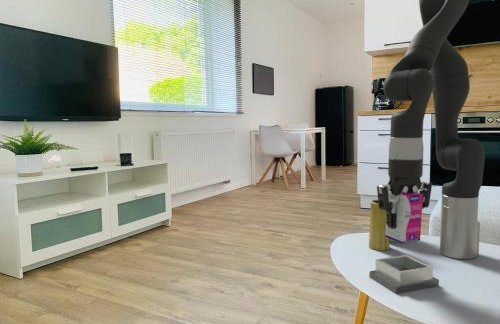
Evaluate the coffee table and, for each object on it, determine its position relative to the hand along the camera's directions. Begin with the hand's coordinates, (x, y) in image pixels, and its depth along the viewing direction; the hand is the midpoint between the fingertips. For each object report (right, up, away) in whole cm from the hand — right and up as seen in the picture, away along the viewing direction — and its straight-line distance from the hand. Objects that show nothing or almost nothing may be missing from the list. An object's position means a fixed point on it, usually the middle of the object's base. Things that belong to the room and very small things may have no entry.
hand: (403, 226), depth 93 cm
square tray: (0, -13, +1) cm, 14 cm away
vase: (+3, -11, +26) cm, 29 cm away
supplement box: (0, -3, 0) cm, 3 cm away
